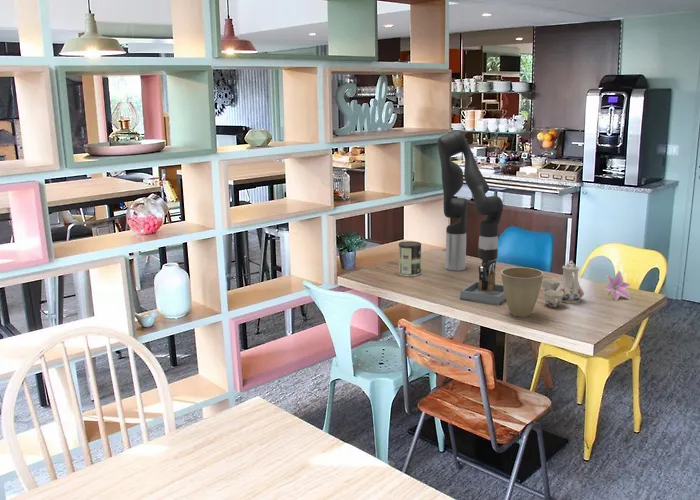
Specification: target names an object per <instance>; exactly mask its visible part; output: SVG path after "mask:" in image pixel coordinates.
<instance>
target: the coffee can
mask: <svg viewBox="0 0 700 500" xmlns="http://www.w3.org/2000/svg"><path fill="white" fill-rule="evenodd" d="M421 274H422V242H419V241H415V240H414V241H412V240H407V241H406V240H405V241H401V242H400V241H399V243H398V275H400V276H403V277H418V276H419V275H421Z"/></svg>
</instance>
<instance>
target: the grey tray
mask: <svg viewBox="0 0 700 500" xmlns="http://www.w3.org/2000/svg"><path fill="white" fill-rule="evenodd" d="M459 296H460V297H459V300H463V301H469V302H475V303H480V302H481V304H486V305H495V306H500V305H502V304H503V303H504V302H505V301H506V298H505V294H504V289H503V284H498V283H495V290H493V291H492V292H491V293H489V292H482V291H479V281H477V280H475V281H473V282H472V283H470V284H469V285H467V286H466V287H464V288H462V289H461V290H460V294H459Z"/></svg>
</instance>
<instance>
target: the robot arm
mask: <svg viewBox="0 0 700 500" xmlns="http://www.w3.org/2000/svg"><path fill="white" fill-rule="evenodd" d="M437 150H438V155H439V159H440V167H441V183H442V190H443V191H442V192H443V193H442V194H443V215H444V216H445V218H449V219H459V220H458V221H457V222H455V223H452V224H449V225H447V226H446V227H445V228H446V229H445V234H446V235H445V270H448V271H454V272H455V271H457V272H458V271H464V270H466V264H467V263H466V261H467V260H466V259H467V257H466V256H467V224H468V223H467V221H468V209H469V206H468V204H469V203H468V200H467V199H466V198H465V197H464V198H463V197H462V198H461V197H454V196H455V195H457V194H458V192H459V191H461V189H462V187H463V185H464V181H465V183H466V186H467V188H468V189H469V190H470V192H471V194H472V197H473V198H472V199H473V203H474V207H475V209H476V211H477V212H478V213H479V214H480V215H482V216H486V218H485V219H484V220H482V221H480V224H479V235H478V236H479V237H478V250H477V251H478V253H477V254H478V256H477V258H478V259H480V260H481V261H482V262H481V263H480V266H478V281H479V280H481V281H482V290H487V284H488V275H490V272H491V273H493V272H494V273H495V274H496V265H497V259H498V258H499V257H498V256H499V253H498V252H499V238H498V237H499V236H498V235H499V225H500V221H501V218H502V214H503V212H504V211H503V210H504V203H503V200H502V198H501V197H500V196H497V195H490V196H487V195H486V194H487V193H488V191H489V189H490V186H489V184H488V183H487V181H486V179H485V177H484V176H483V174H482V172H481V170H480V168H479V166H478V164H477V161H476V158H475V157H474V153H473V151H472V149H471V147H470V145H469V142H468V140H467V138H466V135H464V133H463V132H462V130H460V129H456V130H453V131H450V132H449V133H446V134H444V135H443V134H442V135H441V136H439V137H438V139H437ZM460 153H462V154H463V156H464V171H463V169H462V168H461V166H460V165H459V164H458V163H456V162H454V161H452V160H451V158H452V157H453V156H456V155H459V154H460ZM486 272H488V273H486ZM481 275H482V276H481ZM483 276H484V277H483Z"/></svg>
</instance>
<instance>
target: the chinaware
mask: <svg viewBox="0 0 700 500" xmlns="http://www.w3.org/2000/svg"><path fill="white" fill-rule="evenodd" d="M580 268H581V267H579V266H577V265H576V263H574V261H573V260H570V261H569V262H566V265H562V278H561V279H559V278H556V277H552V278H549V277H543V278H542V283H541V287H542V288H543V290H541V294H542V295H543V300H544V302H546V304H547V306H548V307H549V308H556V307H558V304H560V303H565V304H578V303H581V298H582V297H584V295H585V292H584V290H583V289H582V287H581V285H580V281H579V270H580Z"/></svg>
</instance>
